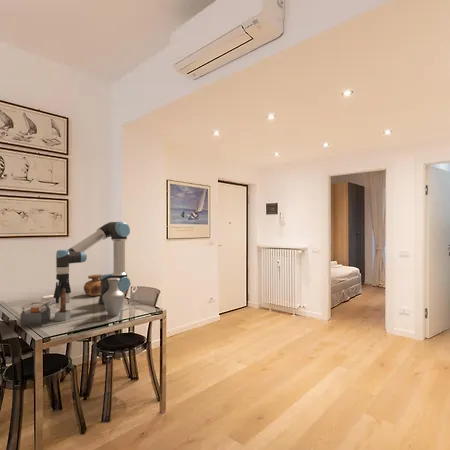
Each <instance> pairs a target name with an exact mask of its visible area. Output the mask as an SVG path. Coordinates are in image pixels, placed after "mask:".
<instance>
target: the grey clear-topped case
mask: <svg viewBox="0 0 450 450" xmlns="http://www.w3.org/2000/svg"><path fill="white" fill-rule="evenodd" d="M49 303H50V301H41V300H39V301H38V300H37V301H30V302H27V303H24V304H22V305H20V309H21V313H20V327H22V328H23V327H42V326H43V325H45V324H47V323H49V322H50V321H51V313H50V308H49ZM45 305H47V308H41V307H43V306H45ZM33 307H39V311H38V312H31V308H33ZM26 308H27V310H26V311H25V309H26ZM28 308H29V309H28Z"/></svg>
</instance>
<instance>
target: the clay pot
mask: <svg viewBox="0 0 450 450" xmlns="http://www.w3.org/2000/svg"><path fill="white" fill-rule="evenodd" d="M102 275H103V274H100V273H99V274H90V275H87V276H88V279H89V280H88V281H87V282H85V283H84V285H83V291H84V293H85V294H86V295H88V296H90V297H97V296H98V295H99V296H100V294H101V281H100V279H101V276H102Z"/></svg>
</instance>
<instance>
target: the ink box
mask: <svg viewBox="0 0 450 450" xmlns="http://www.w3.org/2000/svg"><path fill="white" fill-rule="evenodd" d="M40 301H50V303H49V308H50V314H53V313H56V312H57V308H55V298H54V294H50V295H44V296H41V297H40ZM41 308H47V305H45V306H43V307H41Z"/></svg>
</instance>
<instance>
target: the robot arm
mask: <svg viewBox="0 0 450 450" xmlns="http://www.w3.org/2000/svg"><path fill="white" fill-rule="evenodd" d="M130 234H131V228H130V226H129V224H128V223H127V222H125V221H110V222H107V223H105V224H103V225H102V226H101V227H98V228H97V229H96V231H95V232H93V233H92V234H90V235H88V236H87V237H85V238H84V239H82V240H81V241H79V242H78V243H76V244H75V245H73V246H71V247H69V248H68V249H58V250H57V251H56V256H55V263H56V264H55V267H56V268H55V271H56V274H55V277H56V278H55V279H56V280H57V281H58V282H57V281H56V283H55V290H54V293H53V295H54V298H55V308H56V309H60V295H61V292H62V289H63V288H66V304H70V294H71V293H72V289H71V285H70V274H69V273H70V264H71V265H72V264H78V263H79V264H81V263H85V262H86V261H87V253H86V251H87V250H89V249H90V248H92V247H93V246H94V245H96V244H98V243H99V242H101V241H102V240H106V239H108V238H110V239H111V240H112V242H113V251H112V252H113V254H112V255H113V263H112V264H113V270H112V271H113V272H112V273H108V274H107V273H106V274H101V275H102V276H101V279H100V278H99V279H100V281H101V294H100V295H99V298H98V303H97V304H98V305H101V306H102V305H103V306H105V305H104V302H103V295H104V294H105V293H106V292H107V291H108V290H109V282H108V280H107V279H109V278H120V280H119V283H118V288H119V290H120V291H121V292H123V293H124V292H126V291H127V290H128V289H129V288H130V286H131V279H129V277H128V272H126V241H127V239H128V236H130Z"/></svg>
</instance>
